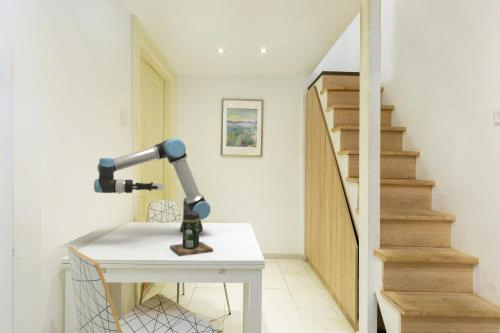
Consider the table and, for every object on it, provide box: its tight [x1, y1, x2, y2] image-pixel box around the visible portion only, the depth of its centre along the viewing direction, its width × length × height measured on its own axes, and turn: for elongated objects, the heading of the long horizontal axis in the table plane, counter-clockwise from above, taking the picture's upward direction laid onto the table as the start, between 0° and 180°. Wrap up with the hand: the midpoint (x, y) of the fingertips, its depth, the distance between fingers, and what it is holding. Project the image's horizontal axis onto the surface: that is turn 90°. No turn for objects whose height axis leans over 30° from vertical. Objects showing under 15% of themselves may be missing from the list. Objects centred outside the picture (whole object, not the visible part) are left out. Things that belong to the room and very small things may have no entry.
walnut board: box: [169, 241, 214, 257], centre depth 159 cm, size 18×16×2 cm
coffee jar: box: [181, 211, 200, 249], centre depth 160 cm, size 10×8×19 cm
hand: (164, 186), depth 176 cm, fingers open, 13 cm apart
